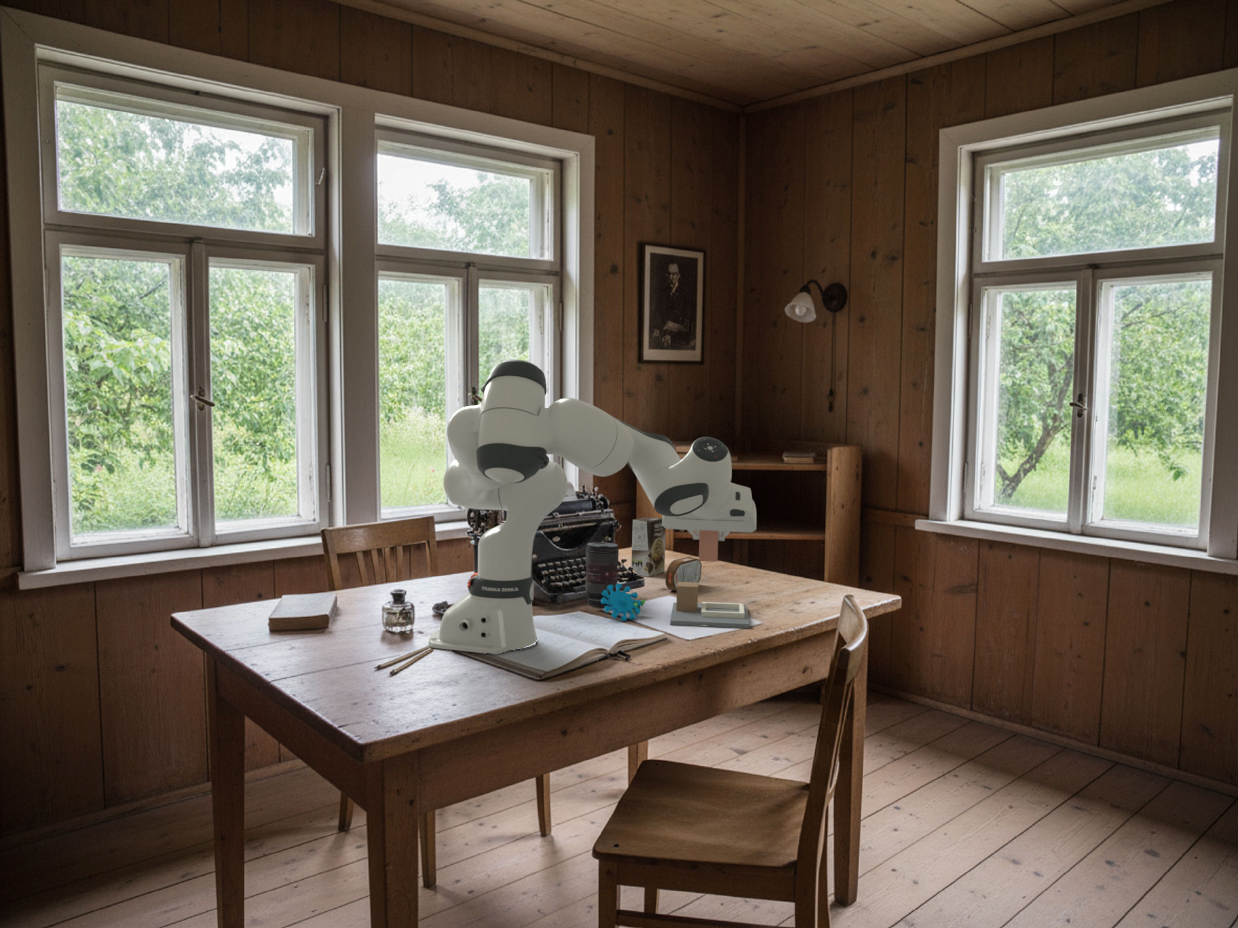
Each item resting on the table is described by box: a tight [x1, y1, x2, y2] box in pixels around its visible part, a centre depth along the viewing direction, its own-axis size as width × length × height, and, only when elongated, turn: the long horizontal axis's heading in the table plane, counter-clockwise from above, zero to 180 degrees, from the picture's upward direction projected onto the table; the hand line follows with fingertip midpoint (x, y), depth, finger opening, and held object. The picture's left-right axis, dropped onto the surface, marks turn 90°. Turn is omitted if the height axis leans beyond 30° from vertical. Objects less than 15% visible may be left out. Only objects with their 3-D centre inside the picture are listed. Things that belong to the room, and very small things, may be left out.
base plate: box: [669, 582, 751, 629], centre depth 221 cm, size 18×18×7 cm
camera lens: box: [584, 541, 620, 607], centre depth 233 cm, size 8×8×15 cm
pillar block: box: [698, 530, 719, 563], centre depth 205 cm, size 4×4×8 cm
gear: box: [601, 582, 646, 622], centre depth 220 cm, size 11×6×10 cm
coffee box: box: [630, 516, 667, 578], centre depth 271 cm, size 9×6×16 cm
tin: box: [664, 556, 703, 592], centre depth 252 cm, size 15×3×8 cm, turn 144°
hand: (708, 537), depth 205 cm, fingers closed on pillar block, 4 cm apart
